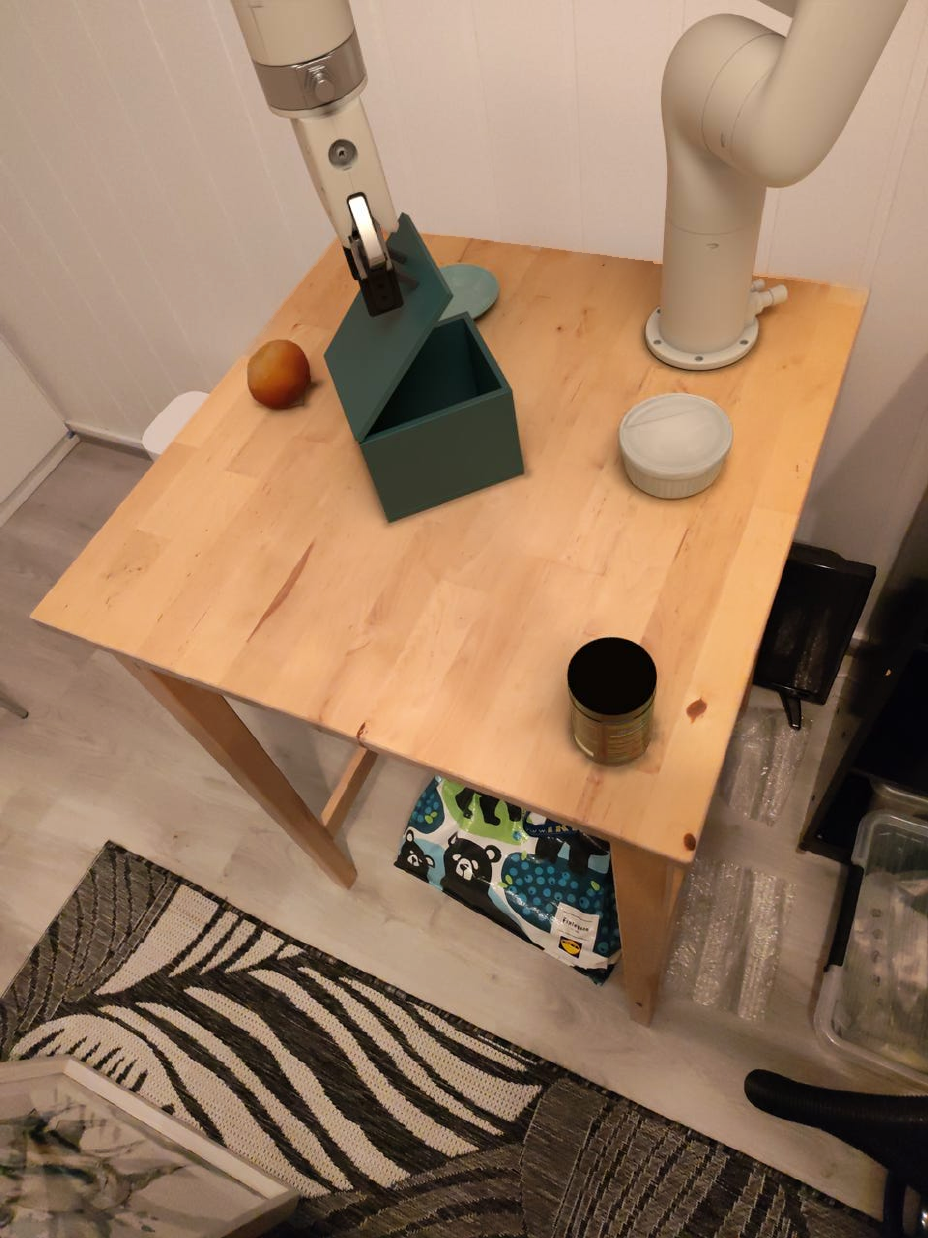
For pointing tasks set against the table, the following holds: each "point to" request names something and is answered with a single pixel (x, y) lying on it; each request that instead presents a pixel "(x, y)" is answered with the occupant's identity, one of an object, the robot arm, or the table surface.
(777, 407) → the table surface
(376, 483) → the box
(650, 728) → the supplement container
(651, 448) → the ramekin
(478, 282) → the saucer
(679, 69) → the robot arm
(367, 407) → the lid
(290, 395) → the fruit
